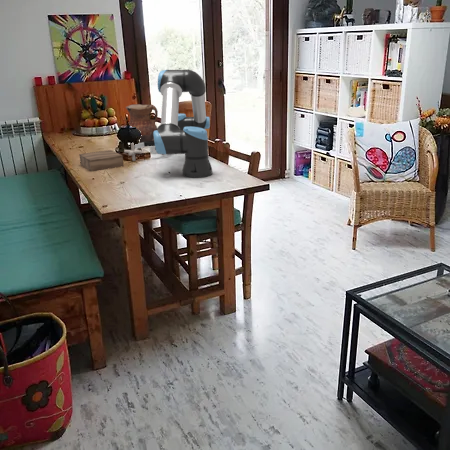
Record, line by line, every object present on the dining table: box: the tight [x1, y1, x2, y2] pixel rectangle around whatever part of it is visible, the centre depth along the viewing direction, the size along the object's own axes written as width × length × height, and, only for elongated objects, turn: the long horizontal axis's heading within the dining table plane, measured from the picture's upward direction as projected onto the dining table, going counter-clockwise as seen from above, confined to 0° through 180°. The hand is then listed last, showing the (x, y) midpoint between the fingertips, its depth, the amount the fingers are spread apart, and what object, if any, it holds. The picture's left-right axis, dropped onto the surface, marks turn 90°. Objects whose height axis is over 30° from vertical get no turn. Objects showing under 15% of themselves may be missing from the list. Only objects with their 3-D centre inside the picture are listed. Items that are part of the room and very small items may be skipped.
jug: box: [125, 103, 159, 143], centre depth 306 cm, size 22×21×25 cm
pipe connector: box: [123, 143, 143, 162], centre depth 264 cm, size 10×10×10 cm
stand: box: [79, 149, 124, 172], centre depth 255 cm, size 18×18×6 cm
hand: (142, 148), depth 269 cm, fingers open, 13 cm apart
